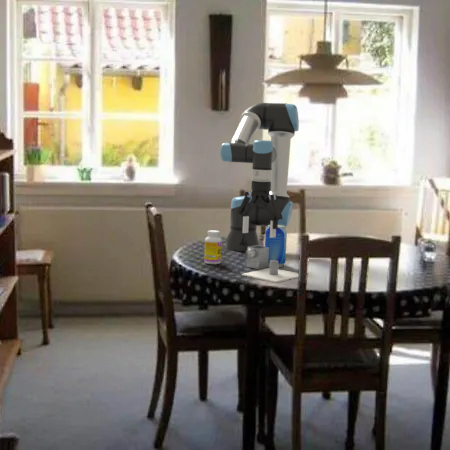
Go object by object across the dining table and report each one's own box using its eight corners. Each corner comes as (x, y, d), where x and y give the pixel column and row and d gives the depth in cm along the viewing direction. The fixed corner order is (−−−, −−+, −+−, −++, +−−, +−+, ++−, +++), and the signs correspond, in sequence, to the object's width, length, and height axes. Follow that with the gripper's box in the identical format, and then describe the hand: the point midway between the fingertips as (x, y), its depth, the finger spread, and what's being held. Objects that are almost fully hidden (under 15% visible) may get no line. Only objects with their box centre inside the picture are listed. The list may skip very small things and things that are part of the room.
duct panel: (271, 269, 307) (271, 255, 306) (305, 276, 297) (305, 261, 296) (241, 275, 294) (242, 260, 293) (275, 282, 283) (276, 267, 283)
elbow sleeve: (256, 264, 315) (257, 245, 313) (268, 267, 311) (269, 247, 310) (242, 267, 308) (243, 247, 307) (254, 270, 304) (255, 249, 303)
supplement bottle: (218, 265, 311) (220, 232, 309) (202, 263, 312) (203, 231, 311) (222, 262, 318) (223, 230, 316) (206, 260, 319) (207, 229, 317)
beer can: (261, 266, 313) (263, 225, 310) (267, 262, 321) (269, 223, 318) (281, 268, 310) (283, 227, 308) (287, 264, 318) (289, 225, 315)
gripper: (230, 178, 311) (228, 231, 313) (281, 183, 294) (278, 240, 297) (242, 177, 316) (240, 230, 319) (293, 182, 300) (290, 238, 303)
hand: (258, 235), depth 308 cm, fingers open, 13 cm apart
